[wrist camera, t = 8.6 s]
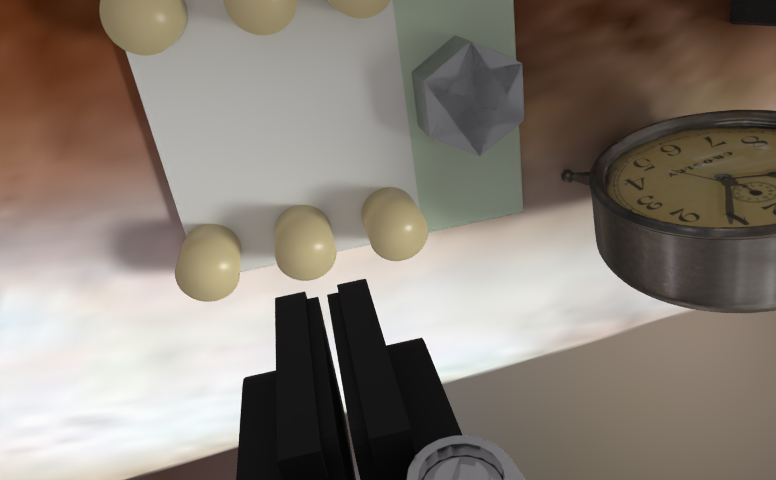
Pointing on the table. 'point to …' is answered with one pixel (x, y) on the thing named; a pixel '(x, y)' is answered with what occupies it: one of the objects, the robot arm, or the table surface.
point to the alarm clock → (691, 210)
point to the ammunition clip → (753, 12)
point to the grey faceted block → (468, 95)
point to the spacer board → (307, 128)
